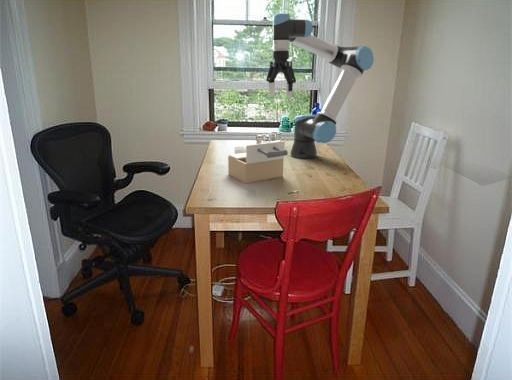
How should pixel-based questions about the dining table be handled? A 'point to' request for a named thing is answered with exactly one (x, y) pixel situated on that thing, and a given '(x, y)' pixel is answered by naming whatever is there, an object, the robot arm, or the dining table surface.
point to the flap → (265, 152)
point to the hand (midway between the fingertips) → (280, 97)
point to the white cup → (240, 149)
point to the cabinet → (253, 169)
